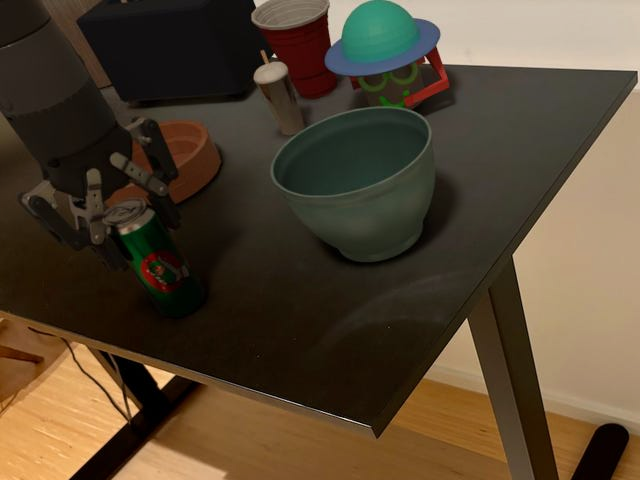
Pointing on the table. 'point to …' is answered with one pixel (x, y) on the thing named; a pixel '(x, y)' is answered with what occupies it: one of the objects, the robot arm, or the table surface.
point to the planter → (77, 33)
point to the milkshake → (279, 95)
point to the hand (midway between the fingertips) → (147, 247)
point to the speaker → (175, 47)
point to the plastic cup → (299, 41)
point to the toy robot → (387, 54)
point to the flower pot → (360, 180)
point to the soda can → (153, 256)
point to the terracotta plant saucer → (178, 161)
